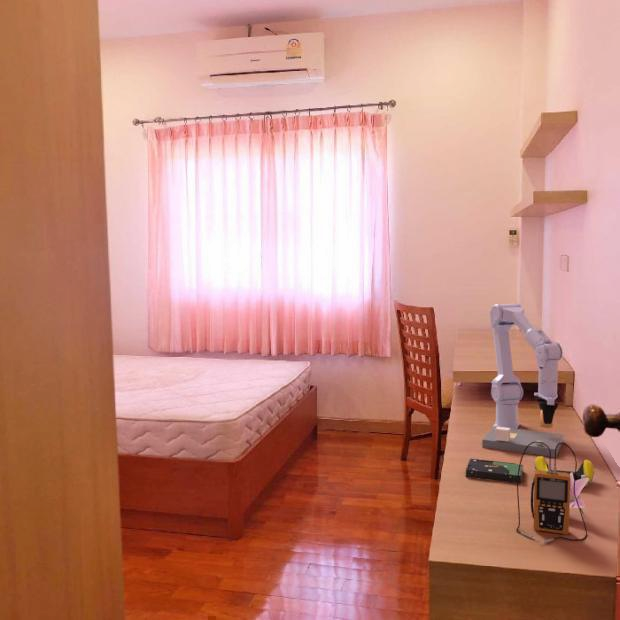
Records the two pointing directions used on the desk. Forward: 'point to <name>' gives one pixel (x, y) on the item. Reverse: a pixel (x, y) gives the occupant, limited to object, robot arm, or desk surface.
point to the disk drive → (494, 470)
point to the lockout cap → (543, 421)
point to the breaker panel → (525, 441)
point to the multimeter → (550, 500)
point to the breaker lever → (502, 434)
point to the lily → (577, 492)
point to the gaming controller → (583, 472)
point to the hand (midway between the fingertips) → (546, 421)
